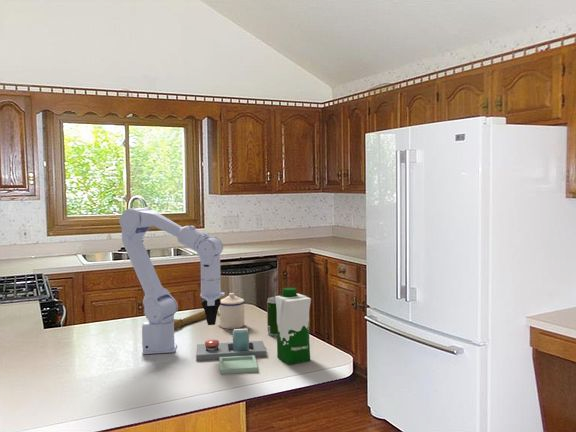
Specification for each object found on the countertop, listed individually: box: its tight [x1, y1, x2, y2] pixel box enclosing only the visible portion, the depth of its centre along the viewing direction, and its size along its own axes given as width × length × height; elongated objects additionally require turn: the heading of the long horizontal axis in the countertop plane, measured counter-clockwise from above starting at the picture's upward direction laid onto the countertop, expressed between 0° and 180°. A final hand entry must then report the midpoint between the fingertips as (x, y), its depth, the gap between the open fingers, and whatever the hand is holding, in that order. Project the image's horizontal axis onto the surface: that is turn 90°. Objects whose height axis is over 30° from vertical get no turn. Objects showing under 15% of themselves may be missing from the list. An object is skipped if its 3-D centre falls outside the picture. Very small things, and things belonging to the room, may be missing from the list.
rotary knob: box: [232, 328, 250, 352], centre depth 155 cm, size 5×5×7 cm
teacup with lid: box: [216, 292, 246, 330], centre depth 185 cm, size 12×9×12 cm
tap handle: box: [174, 310, 206, 331], centre depth 186 cm, size 3×3×30 cm
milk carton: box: [274, 286, 312, 366], centre depth 147 cm, size 9×9×20 cm
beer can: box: [266, 296, 277, 337], centre depth 173 cm, size 5×5×12 cm
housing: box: [195, 340, 267, 361], centre depth 154 cm, size 20×10×2 cm, turn 98°
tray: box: [218, 355, 259, 375], centre depth 143 cm, size 10×10×1 cm
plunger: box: [204, 339, 220, 351], centre depth 153 cm, size 4×4×3 cm
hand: (211, 324), depth 153 cm, fingers closed
